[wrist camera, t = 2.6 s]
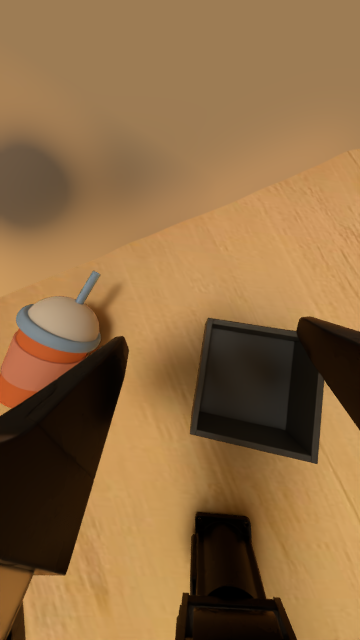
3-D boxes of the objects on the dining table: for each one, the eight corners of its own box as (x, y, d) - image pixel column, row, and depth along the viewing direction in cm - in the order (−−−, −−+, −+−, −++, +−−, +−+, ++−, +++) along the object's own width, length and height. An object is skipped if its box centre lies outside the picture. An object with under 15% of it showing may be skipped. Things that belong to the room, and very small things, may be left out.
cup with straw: (72, 414, 24) (143, 302, 22) (-28, 430, 16) (66, 264, 15) (56, 369, 29) (112, 277, 27) (-24, 366, 22) (46, 240, 20)
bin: (297, 337, 23) (327, 336, 18) (288, 434, 22) (317, 464, 17) (205, 323, 25) (207, 317, 19) (191, 412, 23) (189, 434, 18)
